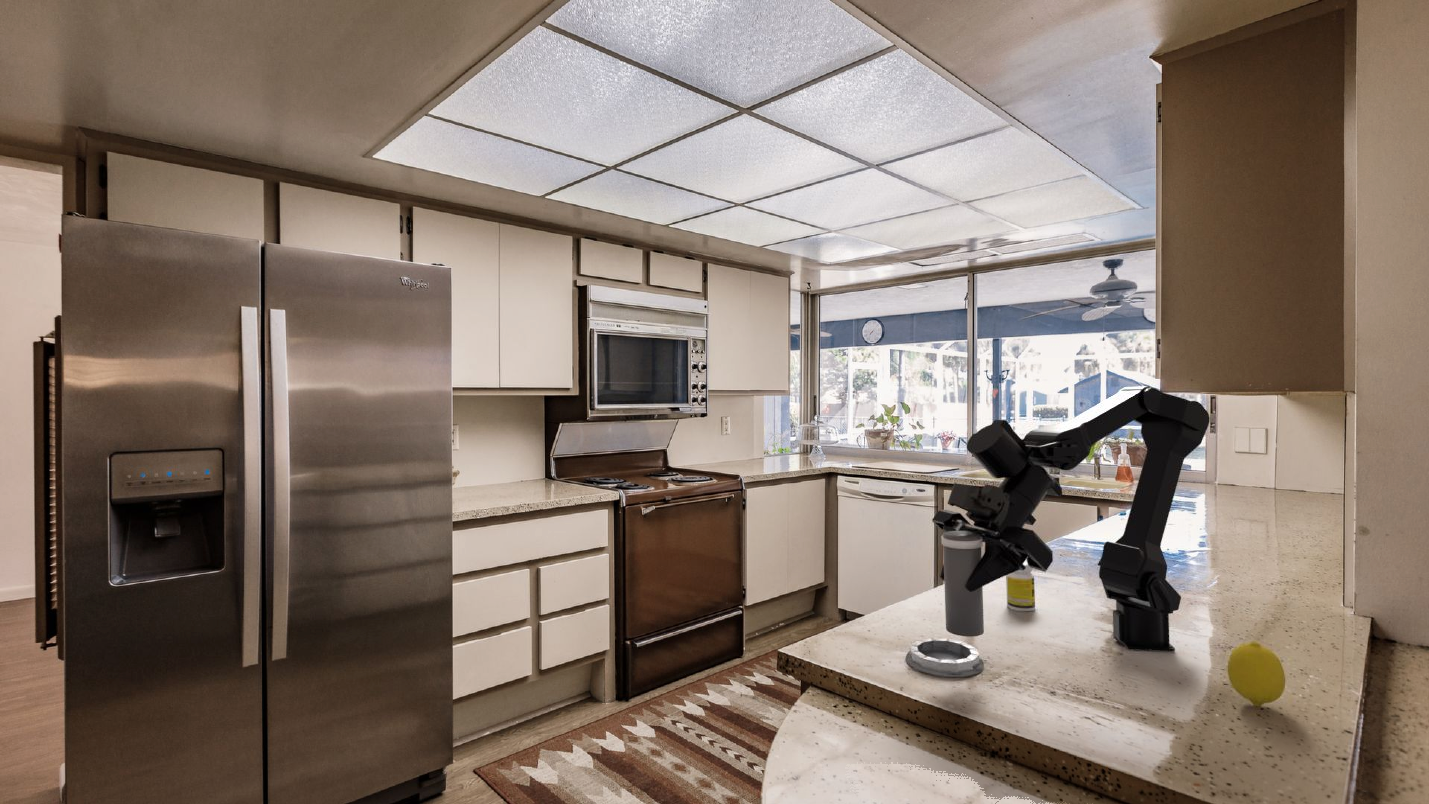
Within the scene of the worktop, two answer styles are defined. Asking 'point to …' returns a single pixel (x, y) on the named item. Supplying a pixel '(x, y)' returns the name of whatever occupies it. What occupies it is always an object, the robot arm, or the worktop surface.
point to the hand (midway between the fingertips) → (954, 584)
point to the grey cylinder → (962, 583)
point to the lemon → (1256, 673)
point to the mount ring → (944, 658)
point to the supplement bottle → (1021, 589)
